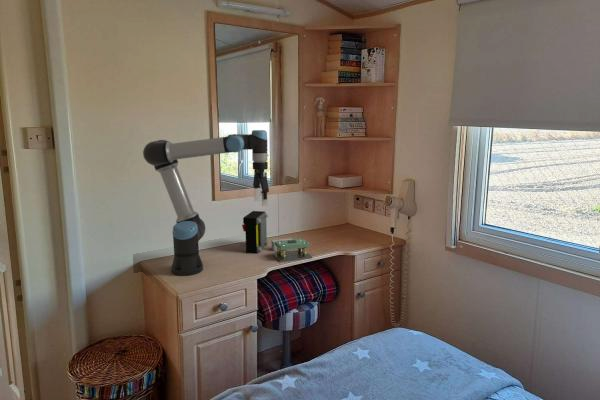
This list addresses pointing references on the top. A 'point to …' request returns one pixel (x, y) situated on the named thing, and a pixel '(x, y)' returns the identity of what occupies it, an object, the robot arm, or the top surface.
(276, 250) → the foam block
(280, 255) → the chassis
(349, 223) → the top surface
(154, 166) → the robot arm
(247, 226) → the electrical component
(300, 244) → the board
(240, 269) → the top surface
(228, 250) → the top surface
